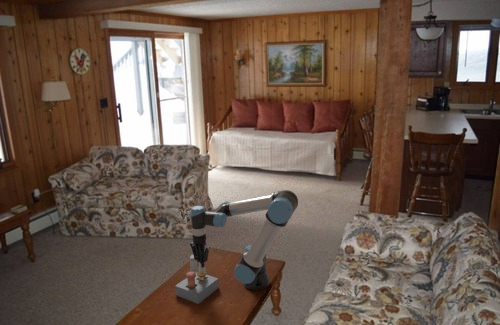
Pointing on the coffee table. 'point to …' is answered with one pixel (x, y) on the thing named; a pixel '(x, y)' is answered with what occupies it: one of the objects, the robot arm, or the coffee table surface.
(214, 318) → the coffee table surface
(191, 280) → the rust plug
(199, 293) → the socket board
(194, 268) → the ink box
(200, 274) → the brass plug
